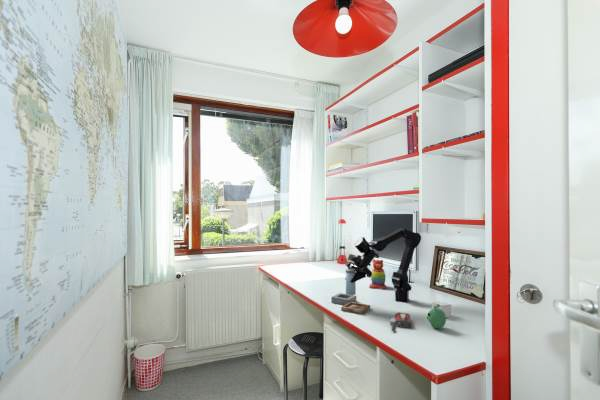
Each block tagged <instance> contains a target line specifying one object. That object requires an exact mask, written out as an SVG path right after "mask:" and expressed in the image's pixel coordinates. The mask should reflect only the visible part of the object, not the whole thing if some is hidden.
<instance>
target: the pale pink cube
mask: <svg viewBox="0 0 600 400" xmlns="http://www.w3.org/2000/svg"><path fill="white" fill-rule="evenodd" d="M437 304H439V305H440V306H439V309H441V310H442V311H443V312H444V314H445V316H446V318H452V304H451V303H449V302H446V301H444V300H440V301H432V303H431V306H432V307H431V309H433V308H434V306H437ZM437 308H438V306H437Z"/></svg>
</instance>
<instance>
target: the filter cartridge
mask: <svg viewBox="0 0 600 400" xmlns="http://www.w3.org/2000/svg"><path fill="white" fill-rule="evenodd" d="M355 273H356V270H355V269H348V268H347V269H345V279H346V280H345V294H347V295H355V296H356V289H357V288H356V282H357V281H355V282H353V283H351V282H350V281H351V280H352V278H353V277H354V275H355Z"/></svg>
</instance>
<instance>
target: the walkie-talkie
mask: <svg viewBox="0 0 600 400" xmlns="http://www.w3.org/2000/svg"><path fill="white" fill-rule="evenodd" d="M389 321H390V322H389V323H390V325H389V326H390V327H391V331H392V332H394V331H395V327H396V328H399V327H400V328H404V329H405V328H406V329H407V328H408V329H411V328H412V320H411V314H410V313H407V312H396V313H395V314H394V317H391V318H390V320H389Z"/></svg>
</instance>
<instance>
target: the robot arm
mask: <svg viewBox="0 0 600 400" xmlns="http://www.w3.org/2000/svg"><path fill="white" fill-rule="evenodd" d="M401 238H403V239H404V244H405V247H404V251H403V255H402V258H401V261H400V264H399V267H398V270H397V271H393V272H392V276H391V283H392V285H393V287H394V289H395V292H394V297H395V299H394V300H395V301H398V302H403V303H408V302H409V301H410V300H411V299H410V291H412V285H411V284H410V283H409V276H408V271H409V268H410V265H411V262H412V258H413V255H414V252H415V249H416V248H417V247H418V246H419V244H420V242H421V241H422V236H421V233H419V232H414V231H410V230H408V229H406V228H398V229H396V230H394V231H393V232H391V233H389V234H387V235H386V236H385V235H384V236H383V237H379V238H374V239H372V240H371V241H369V242H368V241H367V240H366V238H365V237H363V236H361V237H360V238H358V239H356V240H355V241H354V242H353V246H354V247H355V249H357V251H358V252H359V253H360V254H362V255H360V254H356V255H354V254H352V253H349V255H348V257H347V260H348V261H346V262H345V264H344V265H345V266H346V267H347V269H355V270H356V273H355V275H354V277H353V278H352V280H351V281H350V282H351V283H353V282H355V281H356V282H357V281H360V280H362V279H365V278H370V279H371V276H372V270H371V269H370V268H369V267H370V266H371V265H372V264H371V263H372V262H373V260H375V258H376V259H379V258H380V256H379V252H382V251H384V250H385V249H387V246H389V244H391V243H393V242H395V241H397V240H399V239H401ZM368 266H369V267H368ZM344 279H345V281H346V278H344Z"/></svg>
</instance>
